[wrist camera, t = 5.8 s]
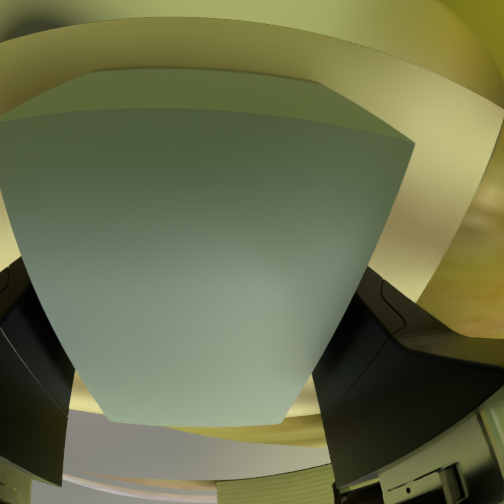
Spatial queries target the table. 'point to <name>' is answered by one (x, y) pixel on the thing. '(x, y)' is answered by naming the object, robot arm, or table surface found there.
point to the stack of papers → (284, 488)
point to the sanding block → (196, 232)
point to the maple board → (305, 67)
